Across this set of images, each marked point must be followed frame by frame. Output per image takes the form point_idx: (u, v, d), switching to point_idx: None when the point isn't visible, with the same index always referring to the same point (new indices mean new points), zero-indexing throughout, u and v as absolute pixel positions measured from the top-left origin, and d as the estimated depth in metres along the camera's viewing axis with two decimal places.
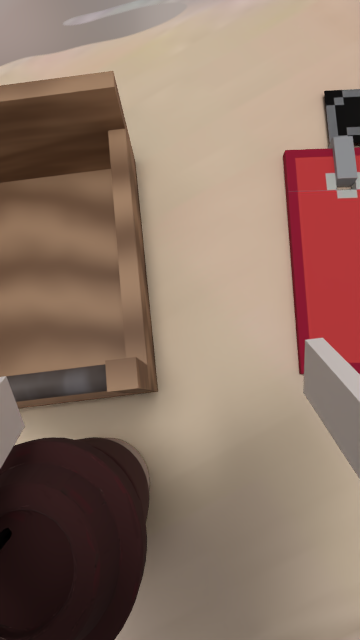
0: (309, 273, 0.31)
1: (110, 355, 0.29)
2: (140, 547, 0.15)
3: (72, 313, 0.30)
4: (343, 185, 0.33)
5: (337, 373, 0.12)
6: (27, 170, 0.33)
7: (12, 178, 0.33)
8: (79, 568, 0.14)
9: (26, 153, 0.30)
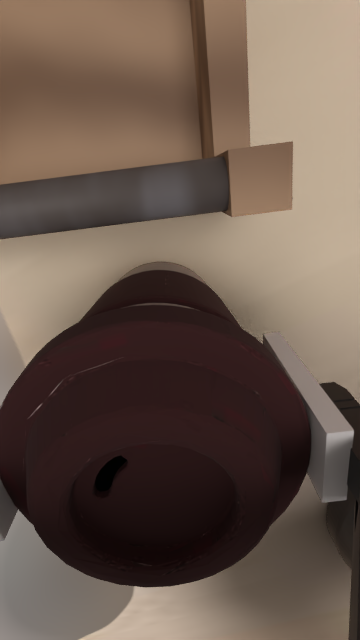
0: None
1: (157, 133, 0.18)
2: (309, 453, 0.10)
3: (79, 41, 0.16)
4: None
5: (284, 363, 0.13)
6: None
7: None
8: (250, 505, 0.09)
9: None
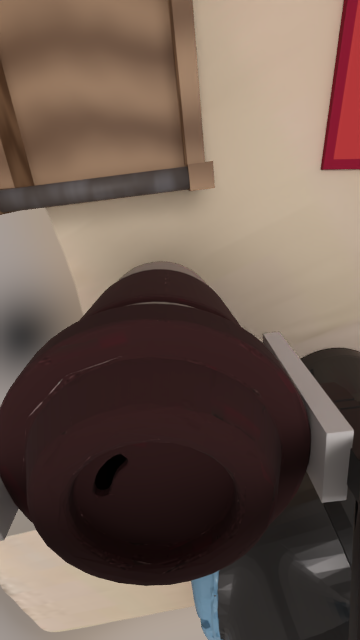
0: (354, 58, 0.30)
1: (159, 151, 0.32)
2: (308, 451, 0.10)
3: (118, 103, 0.31)
4: None
5: (284, 363, 0.13)
6: None
7: None
8: (249, 503, 0.09)
9: None
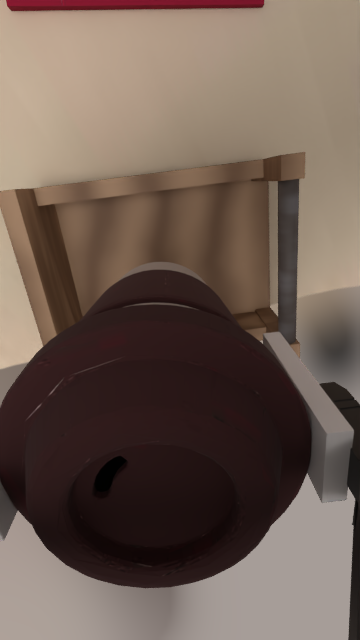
0: None
1: (235, 202, 0.35)
2: (309, 453, 0.10)
3: (198, 238, 0.37)
4: None
5: (284, 363, 0.13)
6: (71, 287, 0.37)
7: (77, 301, 0.39)
8: (249, 505, 0.09)
9: (64, 284, 0.35)
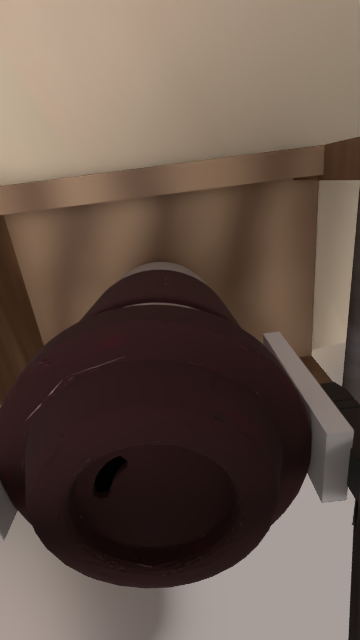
0: None
1: (268, 212, 0.24)
2: (309, 453, 0.10)
3: (214, 262, 0.25)
4: None
5: (284, 363, 0.13)
6: (32, 332, 0.26)
7: None
8: (250, 506, 0.09)
9: (16, 333, 0.23)
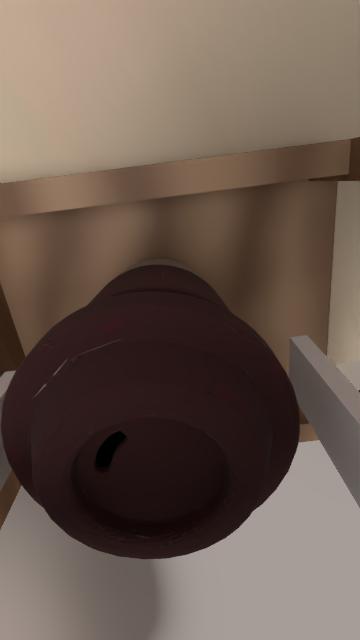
0: None
1: (280, 216, 0.21)
2: (298, 431, 0.11)
3: (218, 273, 0.23)
4: None
5: (317, 369, 0.12)
6: (13, 351, 0.23)
7: None
8: (241, 477, 0.10)
9: None
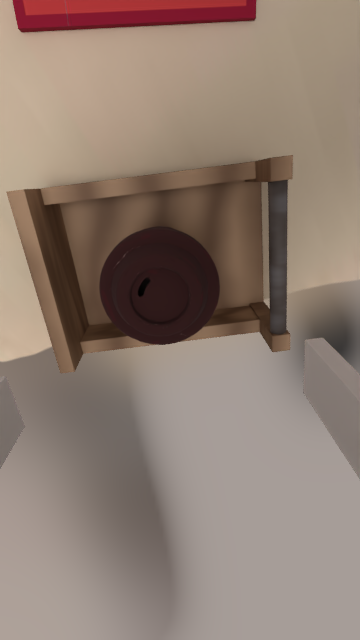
0: (158, 3, 0.31)
1: (230, 202, 0.38)
2: (218, 285, 0.27)
3: (195, 235, 0.39)
4: None
5: (337, 373, 0.12)
6: (75, 282, 0.39)
7: (80, 295, 0.41)
8: (193, 294, 0.26)
9: (68, 279, 0.37)
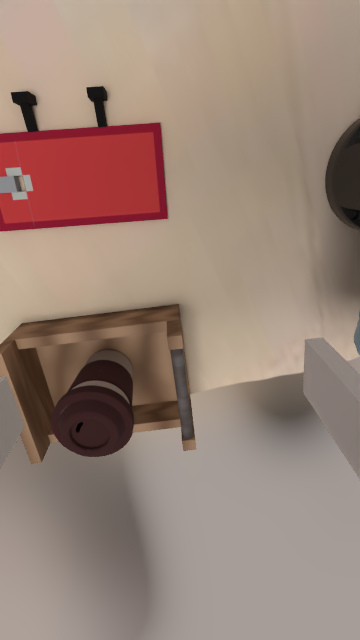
0: (97, 213, 0.44)
1: (158, 332, 0.51)
2: (132, 422, 0.40)
3: (134, 354, 0.52)
4: (18, 183, 0.43)
5: (337, 373, 0.12)
6: (44, 388, 0.52)
7: (49, 395, 0.54)
8: (111, 433, 0.39)
9: (38, 391, 0.50)
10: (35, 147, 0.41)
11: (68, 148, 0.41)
